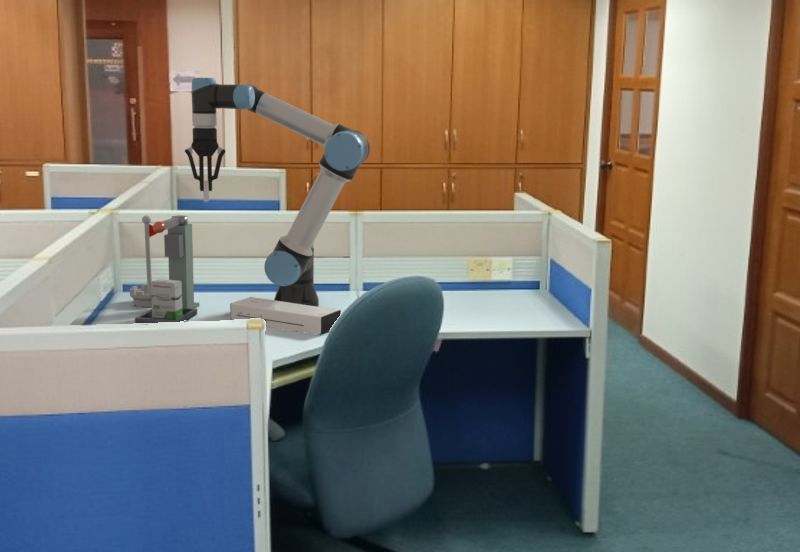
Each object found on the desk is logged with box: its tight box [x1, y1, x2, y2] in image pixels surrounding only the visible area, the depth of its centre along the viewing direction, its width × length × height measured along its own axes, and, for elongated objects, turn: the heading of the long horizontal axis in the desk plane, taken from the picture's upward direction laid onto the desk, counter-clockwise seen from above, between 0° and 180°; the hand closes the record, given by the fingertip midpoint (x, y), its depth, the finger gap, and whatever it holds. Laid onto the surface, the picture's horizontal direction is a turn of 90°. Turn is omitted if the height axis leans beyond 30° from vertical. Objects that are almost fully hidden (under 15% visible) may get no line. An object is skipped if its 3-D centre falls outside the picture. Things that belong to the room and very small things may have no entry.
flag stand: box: [129, 214, 158, 308], centre depth 311 cm, size 13×13×30 cm
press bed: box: [134, 308, 198, 324], centre depth 293 cm, size 14×16×2 cm
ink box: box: [151, 278, 183, 319], centre depth 293 cm, size 9×5×12 cm, turn 73°
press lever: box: [152, 214, 189, 234], centre depth 295 cm, size 21×5×4 cm, turn 171°
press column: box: [163, 223, 200, 309], centre depth 304 cm, size 9×11×28 cm
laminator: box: [229, 296, 342, 336], centre depth 290 cm, size 34×12×6 cm, turn 63°
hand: (206, 201), depth 297 cm, fingers closed
